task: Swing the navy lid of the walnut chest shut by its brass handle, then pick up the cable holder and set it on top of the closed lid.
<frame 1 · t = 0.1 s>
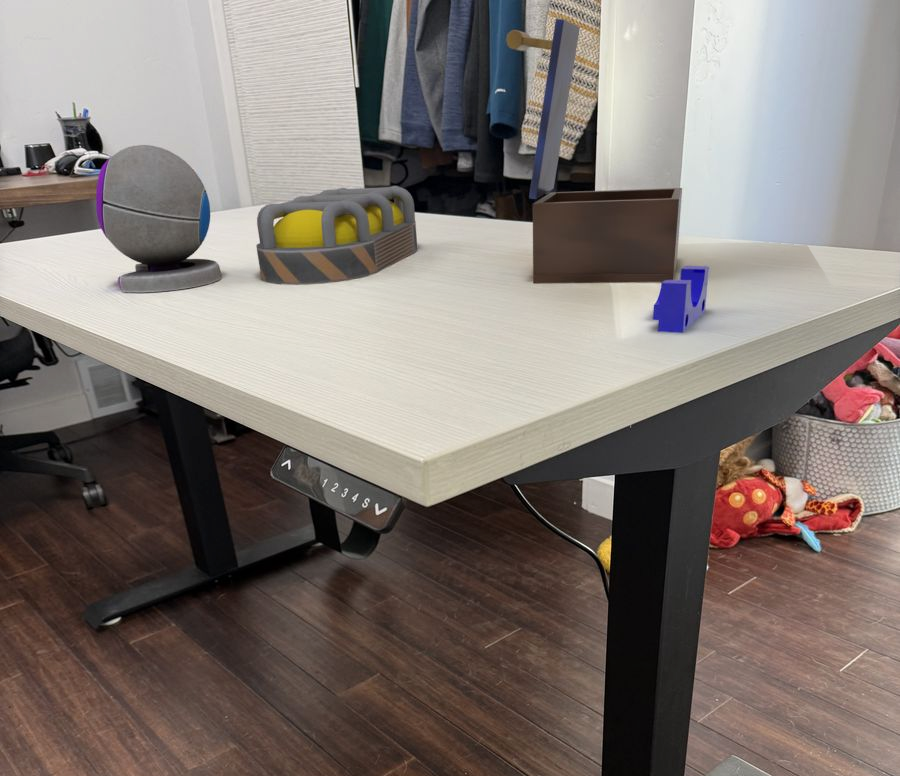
chest: (607, 272, 95), on the table
cable holder: (673, 326, 72), on the table
cage light: (344, 264, 112), on the table
lid: (530, 108, 89), point 16 cm above the table, hinge at 80.0°
grey ball on stand: (169, 284, 106), on the table
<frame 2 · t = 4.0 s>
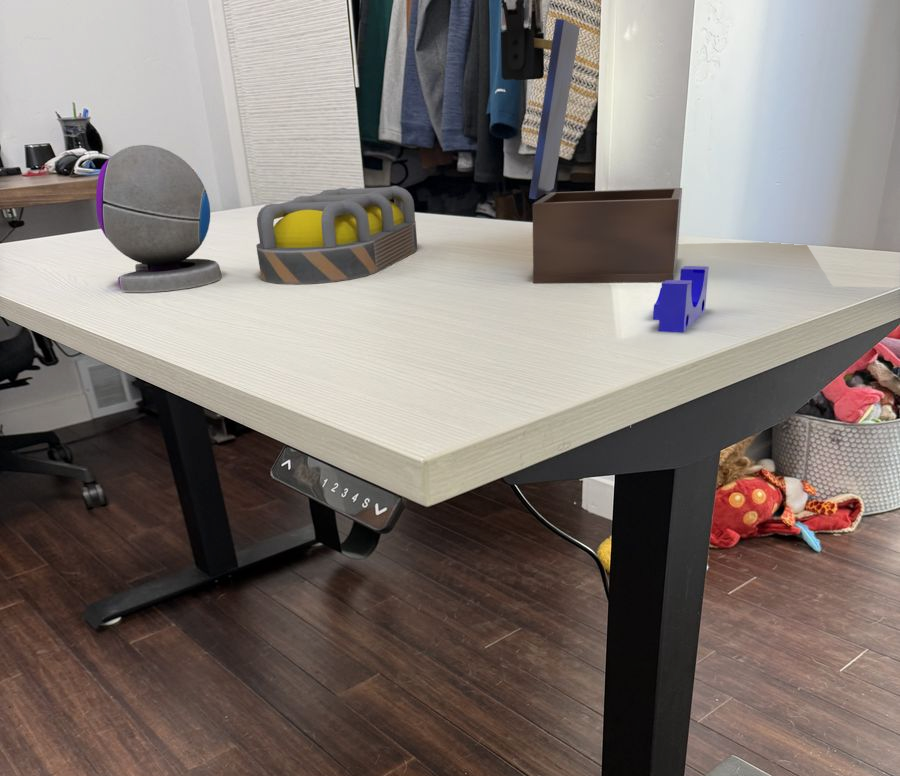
hand: (523, 76, 88), 19 cm above the table, tool pointing down, fingers closed on lid, 5 cm apart
lid: (530, 108, 89), point 16 cm above the table, hinge at 80.0°, touching gripper
everything else where it was.
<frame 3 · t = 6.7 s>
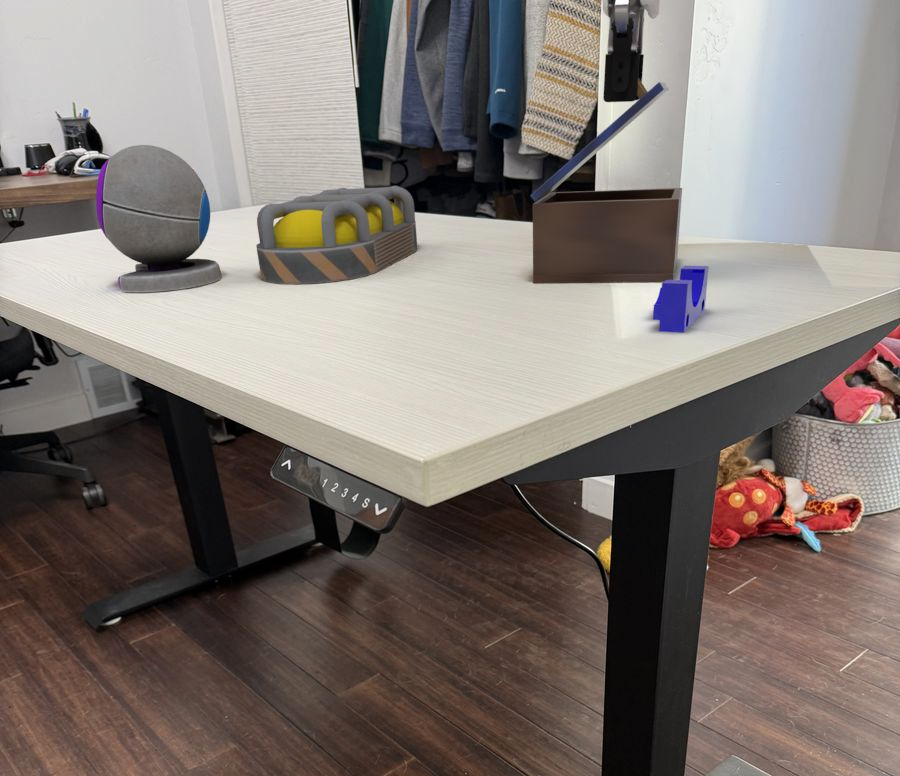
hand: (622, 98, 87), 17 cm above the table, tool pointing down, fingers closed on lid, 5 cm apart
lid: (586, 120, 88), point 15 cm above the table, hinge at 37.1°, touching gripper
everything else where it was.
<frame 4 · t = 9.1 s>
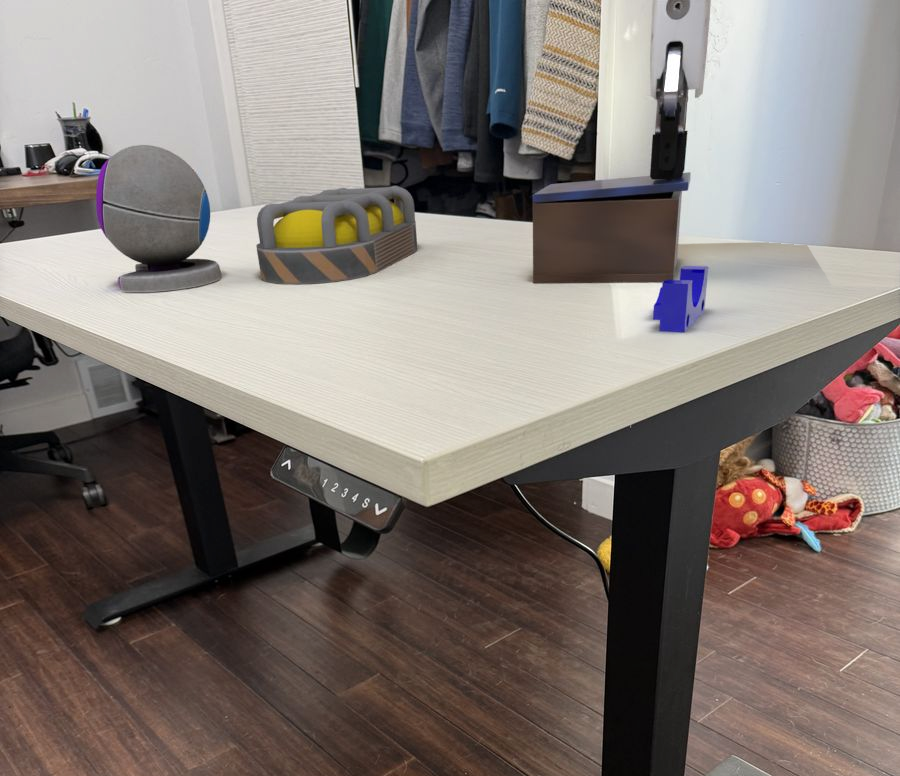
hand: (667, 174, 89), 10 cm above the table, tool pointing down, fingers closed on lid, 5 cm apart
lid: (613, 160, 90), point 11 cm above the table, hinge at 2.4°, touching gripper
everything else where it was.
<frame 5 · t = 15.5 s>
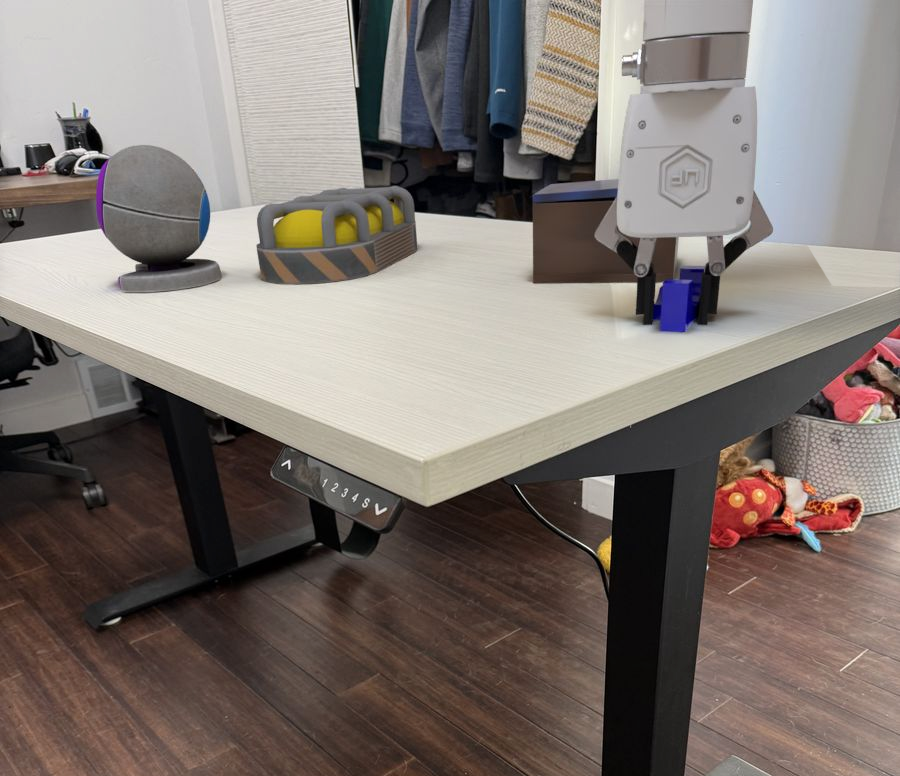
hand: (675, 321, 72), 0 cm above the table, tool pointing down, fingers closed on cable holder, 3 cm apart
cable holder: (673, 326, 73), on the table, touching gripper
lid: (614, 160, 90), point 11 cm above the table, hinge at 2.1°
everything else where it was.
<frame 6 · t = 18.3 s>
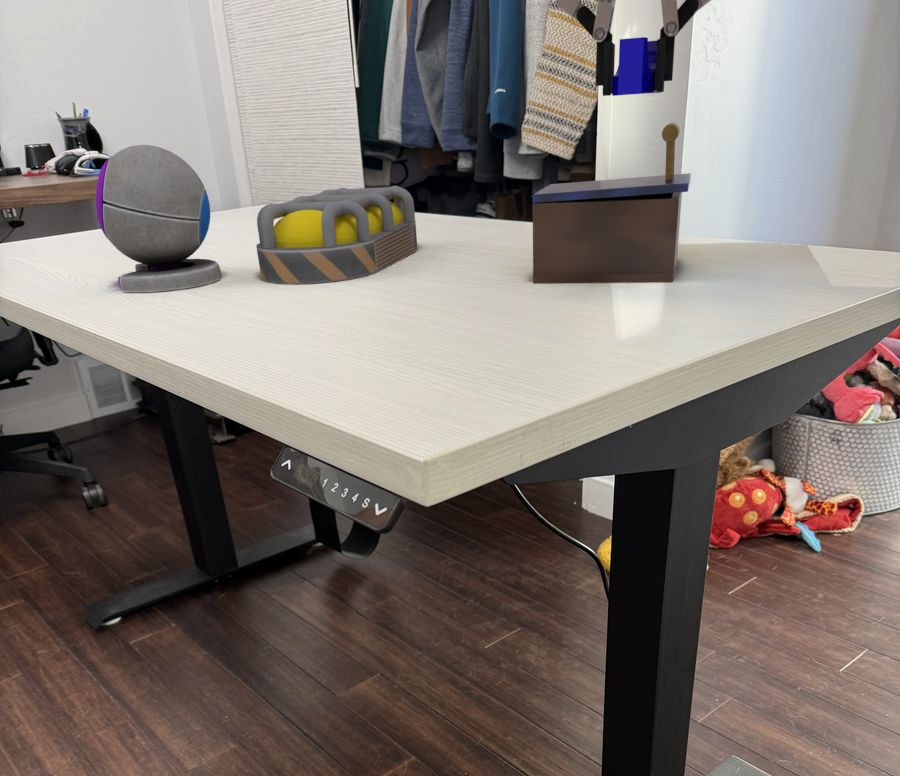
hand: (633, 91, 76), 17 cm above the table, tool pointing down, fingers closed on cable holder, 3 cm apart
cable holder: (631, 97, 76), point 17 cm above the table, touching gripper
everything else where it was.
when the fingers open (9 cm above the table, at t = 21.5 s): cable holder stays where it is, resting on lid.
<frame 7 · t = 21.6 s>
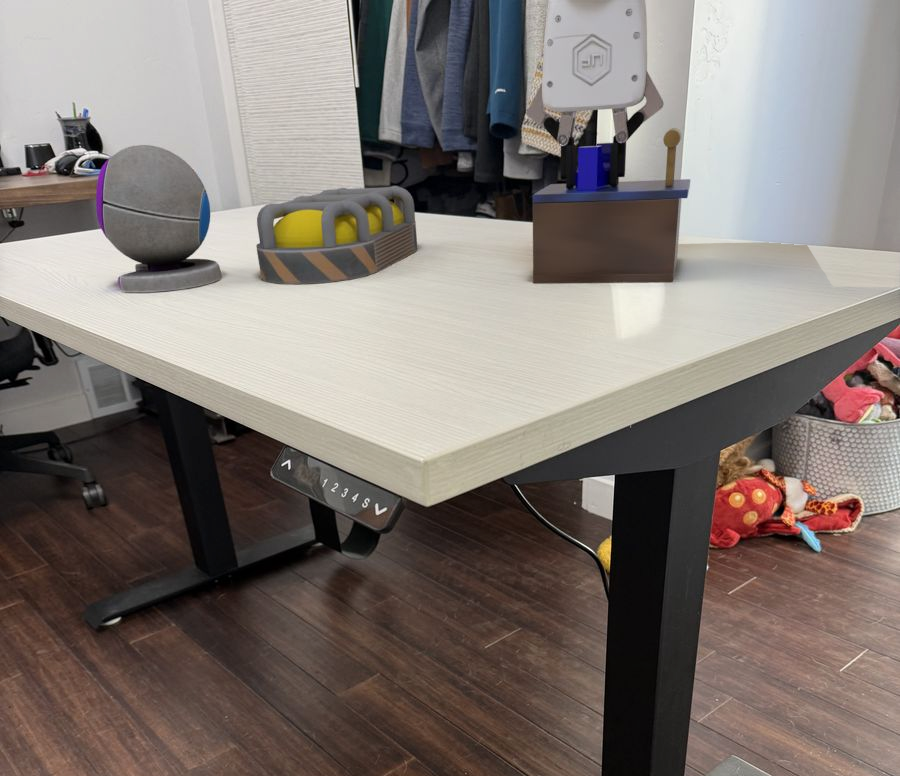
hand: (592, 184, 91), 9 cm above the table, tool pointing down, fingers open, 3 cm apart
cable holder: (591, 189, 91), point 8 cm above the table, touching lid
lid: (614, 163, 90), point 11 cm above the table, hinge at -0.1°, touching cable holder
everything else where it was.
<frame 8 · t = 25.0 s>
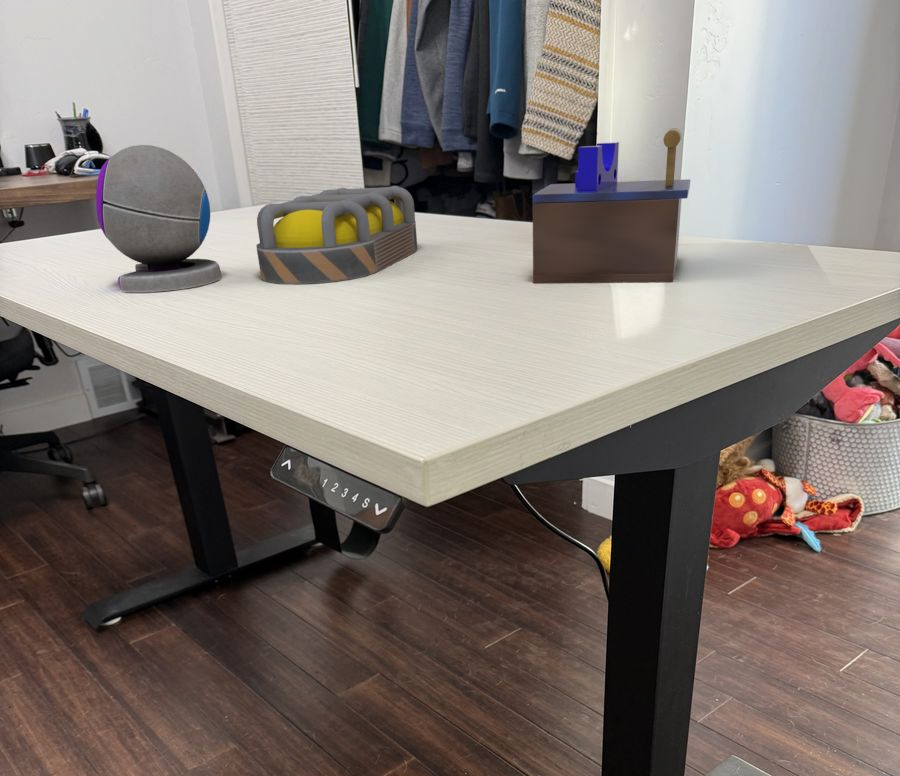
nothing on the table moved.
at the end: lid at +0° (first picture: +80°); cable holder inside the target area on the chest (2.0 cm from its centre), point 8.4 cm above the chest's base; the gripper is holding nothing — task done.
